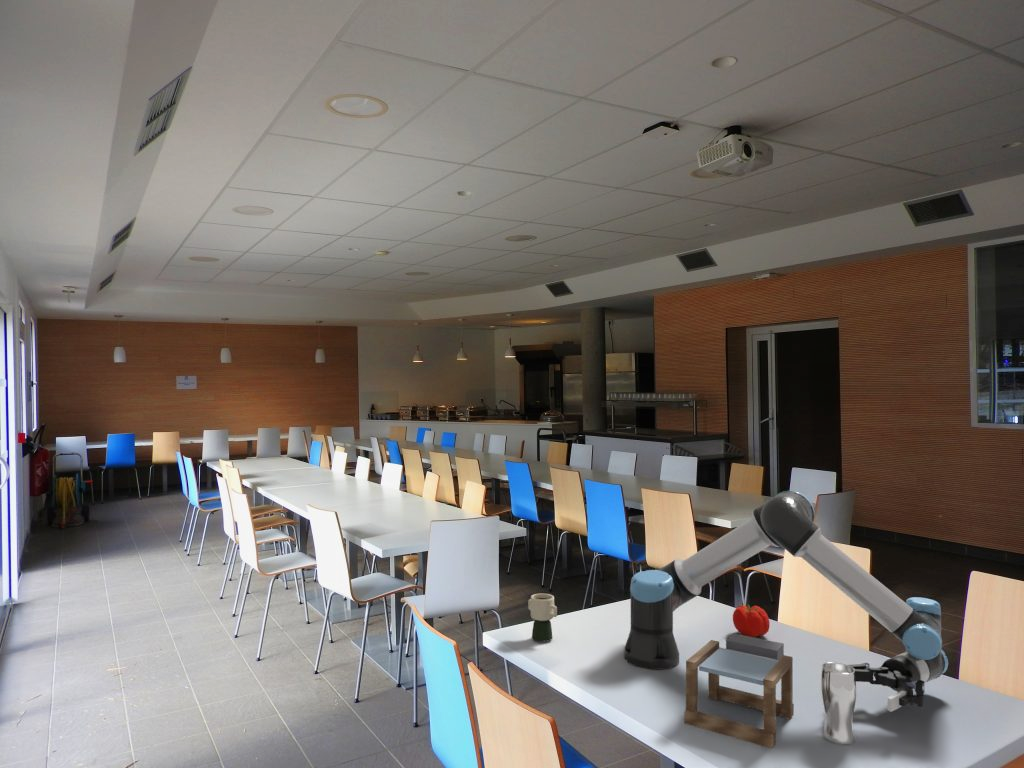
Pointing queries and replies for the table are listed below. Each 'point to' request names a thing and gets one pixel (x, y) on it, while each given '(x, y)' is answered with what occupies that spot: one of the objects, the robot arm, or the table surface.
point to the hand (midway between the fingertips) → (857, 693)
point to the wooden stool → (740, 699)
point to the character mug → (542, 615)
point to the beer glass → (838, 701)
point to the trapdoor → (744, 659)
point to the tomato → (751, 621)
